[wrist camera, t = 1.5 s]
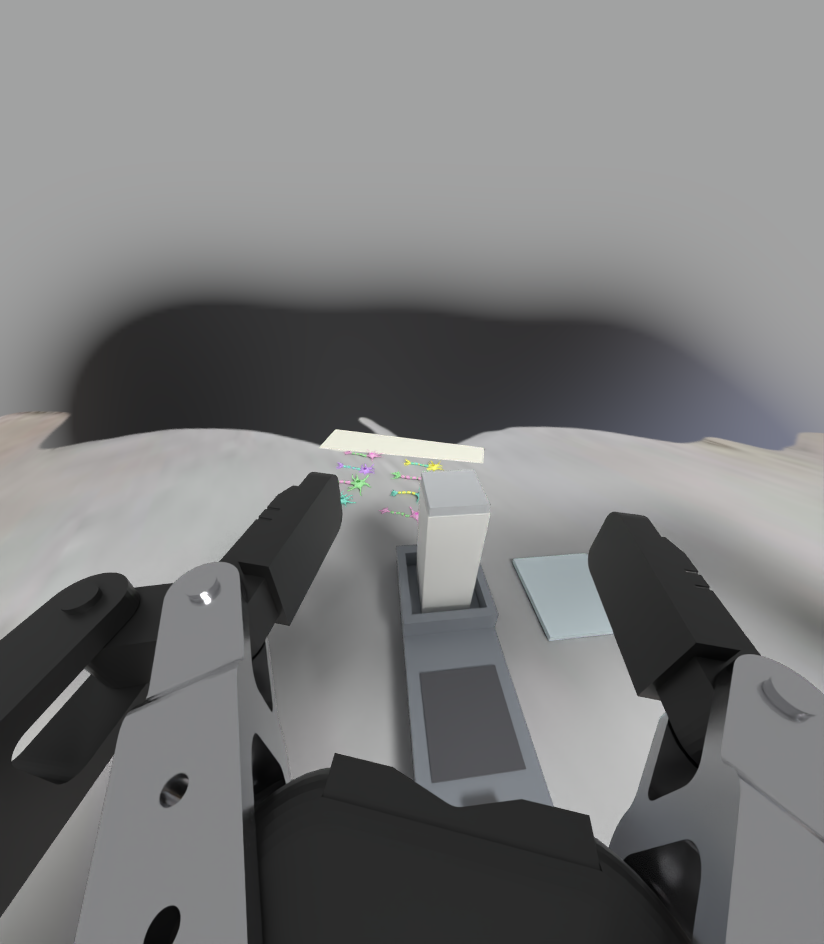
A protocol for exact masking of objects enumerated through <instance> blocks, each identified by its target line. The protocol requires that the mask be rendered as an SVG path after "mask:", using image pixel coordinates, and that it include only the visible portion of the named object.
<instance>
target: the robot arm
mask: <svg viewBox="0 0 824 944" xmlns="http://www.w3.org/2000/svg"><path fill="white" fill-rule="evenodd" d="M341 522H342V506H341V498H340V490H339V482H338V478H337V476H336V475H333V474H325V473H318V472H311V473H309V474H308V476H307V477H306V478H305V479H304V480H303V482H302V483H301V484H300V485H299V486H291V487H290V488H288V489H286V490H285V491H283V492H282V493H280V494H278V495H277V496H276V497H275V499H274V500H273V501H272V502H271V503H270V504H269V505H268V507H267V509H265V510H264V511H263V512H262V513H261V515H260V516H259V519H258V520H257V519H256V520H255V521H254V523H253V524H252V525H251V526H250V527H249V528H248V529H247V531H246V532H245V533H244V534H243V535H242V536H241V538H240V539H239V540H238V541H237V542H236V543H235V544H234V546H233V547H232V548H231V549H230V550H229V551H228V552H227V554H226V555H225V556H224V557H223V558H222V559H221V560H220V561H219V562H212V563H207V564H204V565H201V566H198V567H196V568H194V569H192V570H190V571H188V572H187V573H185V574H184V575H182V576H181V577H180V578H179V579H178V580H176V581H175V582H174V583H170V584H162V585H153V586H145V587H137V588H134V587H133V586H132V584H131V583H130V582H129V581H128V579H127V578H126V577H125V576H124V575H122V574H119V573H102V574H97V575H94V576H90V577H88V578H85V579H82V580H80V581H78V582H76V583H74V584H72V585H70V586H68V587H67V588H65V589H64V590H62V591H60V592H59V593H58V594H56V595H55V596H54V597H52V598H51V599H50V600H49V601H48V602H46V603H45V604H44V605H43V606H41V607H40V608H39V609H38V610H37V611H35V612H34V613H33V614H32V615H31V616H29V617H28V618H27V619H26V620H24V621H23V622H22V623H21V624H20V625H18V626H17V627H16V628H15V629H13V630H12V631H11V632H10V633H9V634H7V635H6V636H5V637H4V638H3V639H1V640H0V917H1V916H2V914H3V913H4V912H5V910H6V909H7V907H8V906H9V904H10V903H11V901H12V900H13V899H14V897H15V896H16V894H17V893H18V891H19V890H20V889H21V887H22V886H23V884H24V883H25V881H26V880H27V878H28V877H29V876H30V874H31V873H32V871H33V870H34V868H35V867H36V866H37V864H38V863H39V861H40V860H41V858H42V857H43V856H44V854H45V853H46V851H47V850H48V848H49V847H50V845H51V844H52V843H53V841H54V840H55V838H56V837H57V835H58V834H59V833H60V831H61V830H62V828H63V827H64V825H65V824H66V822H67V821H68V820H69V818H70V817H71V815H72V814H73V812H74V811H75V810H76V808H77V807H78V805H79V804H80V802H81V801H82V799H83V798H84V797H85V795H86V794H87V792H88V791H89V789H90V788H91V787H92V785H93V784H94V782H95V781H96V779H97V778H98V777H99V775H100V774H101V772H102V771H103V769H104V768H105V766H106V765H107V764H108V762H109V761H110V759H111V758H112V756H113V755H114V758H113V763H112V767H111V772H110V777H109V781H108V786H107V791H106V795H105V800H104V805H103V810H102V814H101V819H100V824H99V828H98V833H97V838H96V842H95V847H94V852H93V857H92V861H91V866H90V871H89V875H88V880H87V885H86V889H85V894H84V899H83V903H82V908H81V913H80V918H79V922H78V927H77V932H76V936H75V941H74V944H824V694H823V693H822V692H821V691H820V690H819V689H818V688H816V687H815V686H814V685H813V684H811V683H810V682H809V681H808V680H806V679H805V678H804V677H802V676H801V675H799V674H798V673H796V672H795V671H793V670H792V669H790V668H788V667H786V666H785V665H783V664H781V663H779V662H776V661H774V660H772V659H769V658H766V657H763V656H761V655H760V654H759V652H758V651H757V650H756V648H755V647H754V646H753V644H752V643H751V642H750V640H749V639H748V638H747V636H746V635H745V634H744V632H743V631H742V630H741V628H740V627H739V626H738V624H737V623H736V621H735V620H734V619H733V617H732V616H731V615H730V613H729V612H728V611H727V609H726V608H725V607H724V605H723V604H722V603H721V601H720V600H719V599H718V597H717V596H716V595H715V593H714V592H713V591H711V590H709V585H708V584H707V583H706V581H705V580H704V579H703V577H702V576H701V575H698V571H697V569H696V568H695V566H694V565H693V564H692V562H691V561H690V560H689V558H688V557H687V556H686V554H685V553H684V552H682V551H681V550H680V549H679V548H678V547H676V546H675V545H674V544H673V543H671V542H670V541H669V540H668V539H667V538H665V537H661V536H660V534H659V533H658V532H657V530H656V529H655V527H654V526H653V524H652V523H651V522H650V520H649V519H648V518H647V517H645V516H642V515H635V514H627V513H619V512H612V513H610V514H609V515H608V516H607V518H606V520H605V522H604V523H603V525H602V527H601V529H600V531H599V533H598V535H597V537H596V538H595V540H594V542H593V544H592V546H591V548H590V550H589V554H588V567H589V571H590V573H591V576H592V579H593V581H594V584H595V586H596V589H597V592H598V594H599V597H600V599H601V602H602V605H603V607H604V610H605V612H606V615H607V618H608V620H609V623H610V625H611V628H612V631H613V633H614V636H615V638H616V641H617V644H618V646H619V649H620V651H621V654H622V657H623V659H624V662H625V664H626V667H627V670H628V672H629V675H630V677H631V680H632V683H633V685H634V688H635V690H636V693H637V696H640V697H645V698H650V699H655V700H660V701H661V702H662V704H663V707H664V709H665V711H666V712H665V713H664V714H663V715H662V716H661V717H660V719H659V722H658V725H657V728H656V732H655V735H654V738H653V741H652V745H651V748H650V751H649V755H648V758H647V761H646V764H645V768H644V771H643V774H642V778H641V781H640V784H639V787H638V791H637V794H636V796H635V799H634V801H633V803H632V805H631V806H630V808H629V809H628V811H627V812H626V813H625V814H624V816H623V817H622V819H621V820H620V822H619V824H618V826H617V827H616V830H615V832H614V834H613V837H612V839H611V842H610V845H609V848H608V847H607V846H606V845H604V844H603V843H602V842H600V841H599V840H598V839H597V838H595V837H594V835H593V831H592V826H591V821H590V817H589V815H585V814H581V813H577V812H573V811H569V810H565V809H561V808H557V807H553V806H549V805H545V804H541V803H536V802H532V801H528V800H524V799H518V800H510V801H502V802H495V803H487V804H480V805H472V806H465V807H456V806H452V805H450V804H448V803H447V802H445V801H444V800H442V799H441V798H439V797H437V796H436V795H434V794H433V793H431V792H430V791H428V790H427V789H425V788H424V787H422V786H421V785H419V784H418V783H416V782H415V781H413V780H412V779H410V778H408V777H407V776H405V775H404V774H402V773H401V772H399V771H398V770H396V769H395V768H393V767H390V766H386V765H382V764H378V763H374V762H370V761H366V760H362V759H357V758H353V757H349V756H345V755H341V754H337V753H335V754H334V758H333V761H332V765H331V768H325V769H320V770H317V771H313V772H310V773H307V774H305V775H302V776H300V777H298V778H296V779H294V780H292V781H291V777H290V769H289V762H288V755H287V749H286V744H285V740H284V735H283V732H282V728H281V725H280V721H279V716H278V710H277V702H276V694H275V687H274V679H273V671H272V663H271V656H270V648H269V640H268V634H269V632H270V631H271V629H272V627H273V625H274V623H278V624H283V625H288V626H290V624H291V622H292V620H293V618H294V616H295V614H296V612H297V611H298V609H299V607H300V605H301V603H302V601H303V599H304V597H305V595H306V593H307V591H308V589H309V587H310V585H311V584H312V582H313V580H314V578H315V576H316V574H317V572H318V570H319V568H320V566H321V564H322V562H323V560H324V558H325V557H326V555H327V553H328V551H329V549H330V547H331V545H332V543H333V541H334V539H335V537H336V535H337V533H338V531H339V529H340V526H341ZM83 669H85V670H87V671H88V672H89V673H90V674H91V675H90V676H89V677H88V679H87V680H86V681H85V682H84V683H83V684H82V685H81V686H80V688H79V689H78V690H77V691H76V692H75V693H74V694H73V695H72V697H71V698H70V699H69V700H68V701H67V702H66V703H65V704H64V705H63V707H62V708H61V709H60V710H59V711H58V712H57V713H56V714H55V716H54V717H53V718H52V719H51V720H50V721H49V722H48V723H47V725H46V726H45V727H44V728H43V729H42V730H41V731H40V732H39V734H38V735H37V736H36V737H35V738H34V739H33V740H32V741H31V743H30V744H29V745H28V746H27V747H26V748H25V749H24V750H23V752H22V753H21V754H20V755H19V756H18V757H16V758H15V759H14V760H13V761H12V762H11V759H12V754H13V751H14V749H15V747H16V745H17V743H18V741H19V740H20V739H21V737H22V736H23V735H24V733H25V732H26V731H27V730H28V729H29V728H30V727H31V726H32V725H33V723H34V722H35V721H36V720H37V719H38V718H39V717H40V716H41V715H42V714H43V713H44V712H45V710H46V709H47V708H48V707H49V706H50V705H51V704H52V703H53V702H54V701H55V700H56V698H57V697H58V696H59V695H60V694H61V693H62V692H63V691H64V690H65V689H66V688H67V687H68V685H69V684H70V683H71V682H72V681H73V680H74V679H75V678H76V677H77V676H78V675H79V674H80V672H81V671H82V670H83Z"/></svg>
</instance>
